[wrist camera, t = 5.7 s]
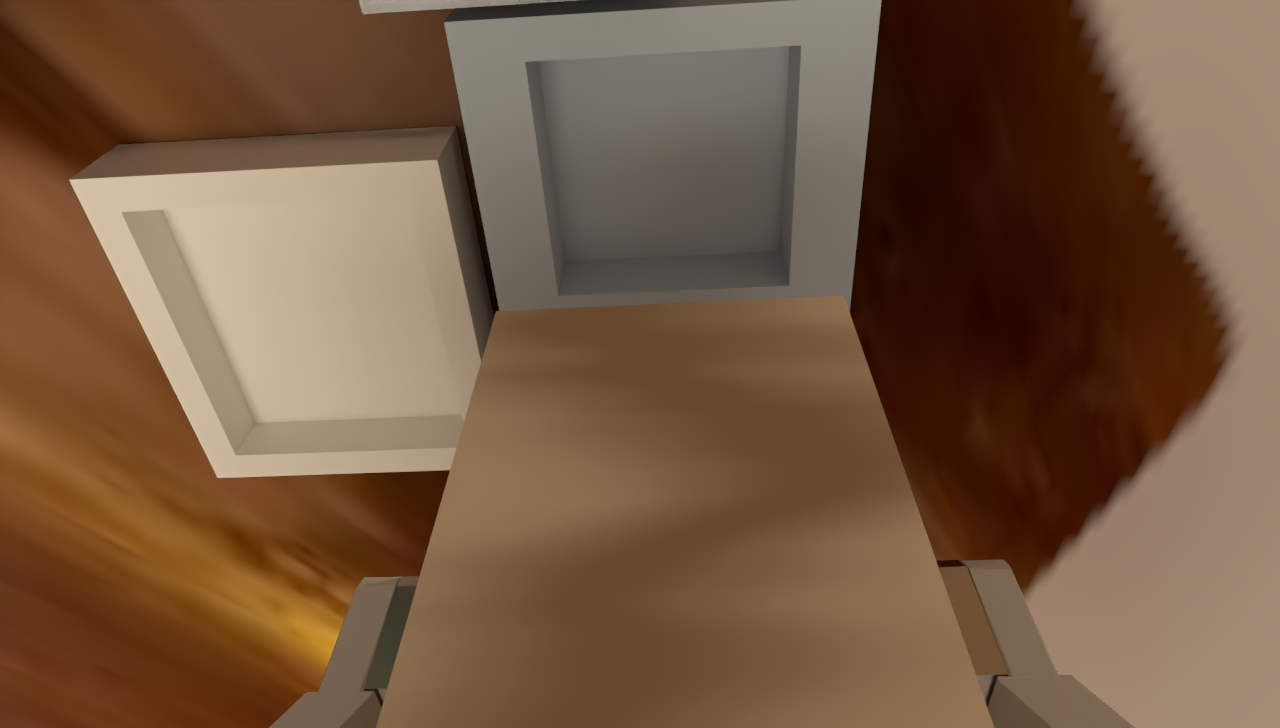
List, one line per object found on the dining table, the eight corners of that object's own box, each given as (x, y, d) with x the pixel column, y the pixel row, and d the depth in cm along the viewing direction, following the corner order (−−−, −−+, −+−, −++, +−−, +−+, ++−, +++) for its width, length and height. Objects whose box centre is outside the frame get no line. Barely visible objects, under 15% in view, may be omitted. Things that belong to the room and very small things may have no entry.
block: (843, 295, 12) (1070, 946, 5) (820, 536, 15) (949, 1142, 8) (496, 311, 12) (310, 951, 6) (540, 544, 15) (455, 1139, 9)
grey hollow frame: (817, 440, 30) (830, 499, 28) (546, 450, 31) (537, 509, 29) (856, -33, 21) (881, -5, 19) (467, -8, 22) (443, 21, 19)
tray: (514, 420, 30) (504, 468, 28) (246, 430, 31) (217, 478, 29) (455, 125, 24) (437, 159, 22) (118, 144, 24) (68, 179, 22)
